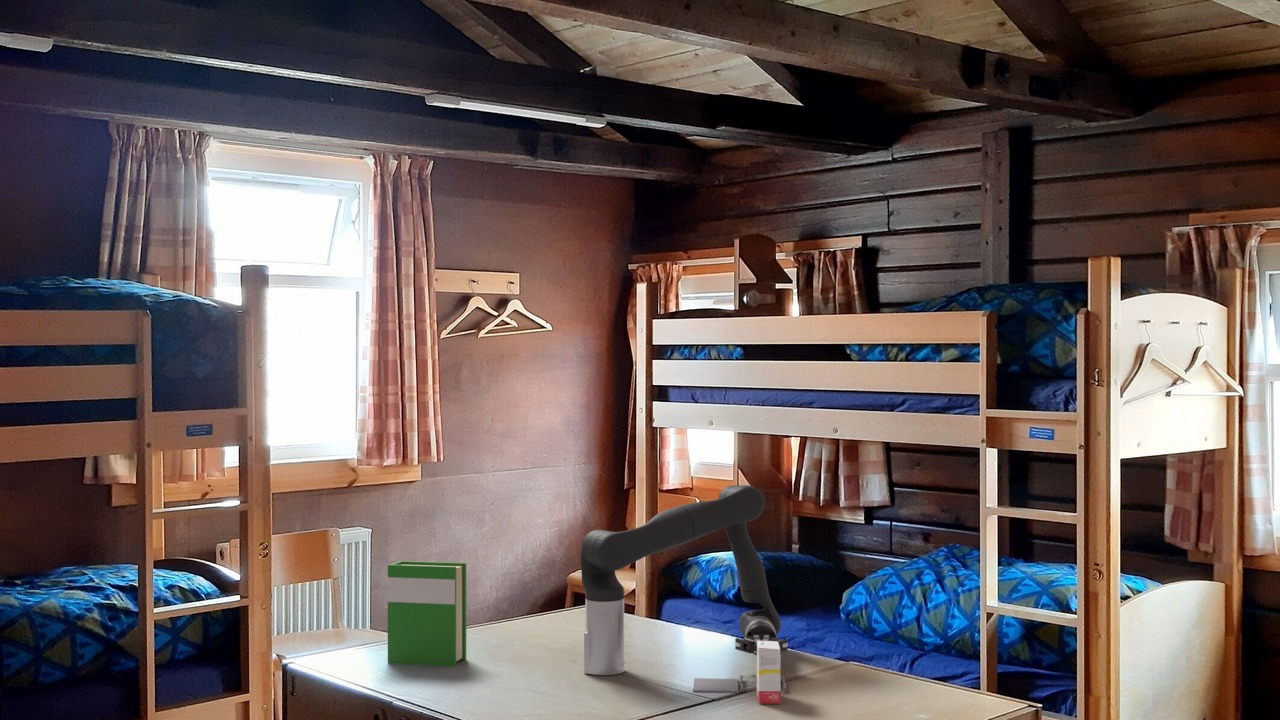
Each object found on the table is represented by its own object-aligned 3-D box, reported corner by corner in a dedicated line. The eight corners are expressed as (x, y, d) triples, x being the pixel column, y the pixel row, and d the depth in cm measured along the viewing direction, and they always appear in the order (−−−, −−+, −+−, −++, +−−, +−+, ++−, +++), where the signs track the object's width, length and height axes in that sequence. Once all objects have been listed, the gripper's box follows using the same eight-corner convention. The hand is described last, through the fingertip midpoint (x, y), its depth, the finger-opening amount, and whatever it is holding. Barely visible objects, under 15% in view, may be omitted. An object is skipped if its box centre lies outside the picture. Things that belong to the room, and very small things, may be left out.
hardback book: (466, 659, 296) (466, 562, 297) (454, 666, 289) (455, 567, 289) (400, 656, 300) (400, 560, 301) (387, 663, 293) (387, 565, 294)
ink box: (781, 704, 252) (781, 648, 253) (758, 704, 253) (757, 648, 253) (779, 694, 261) (778, 640, 261) (756, 694, 261) (756, 640, 262)
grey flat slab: (693, 691, 263) (693, 686, 263) (694, 679, 274) (694, 674, 274) (786, 693, 262) (786, 687, 262) (784, 681, 273) (784, 675, 273)
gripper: (733, 621, 291) (733, 635, 274) (787, 621, 290) (790, 636, 273) (733, 651, 291) (733, 668, 274) (788, 652, 290) (791, 669, 273)
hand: (762, 652), depth 273 cm, fingers closed
